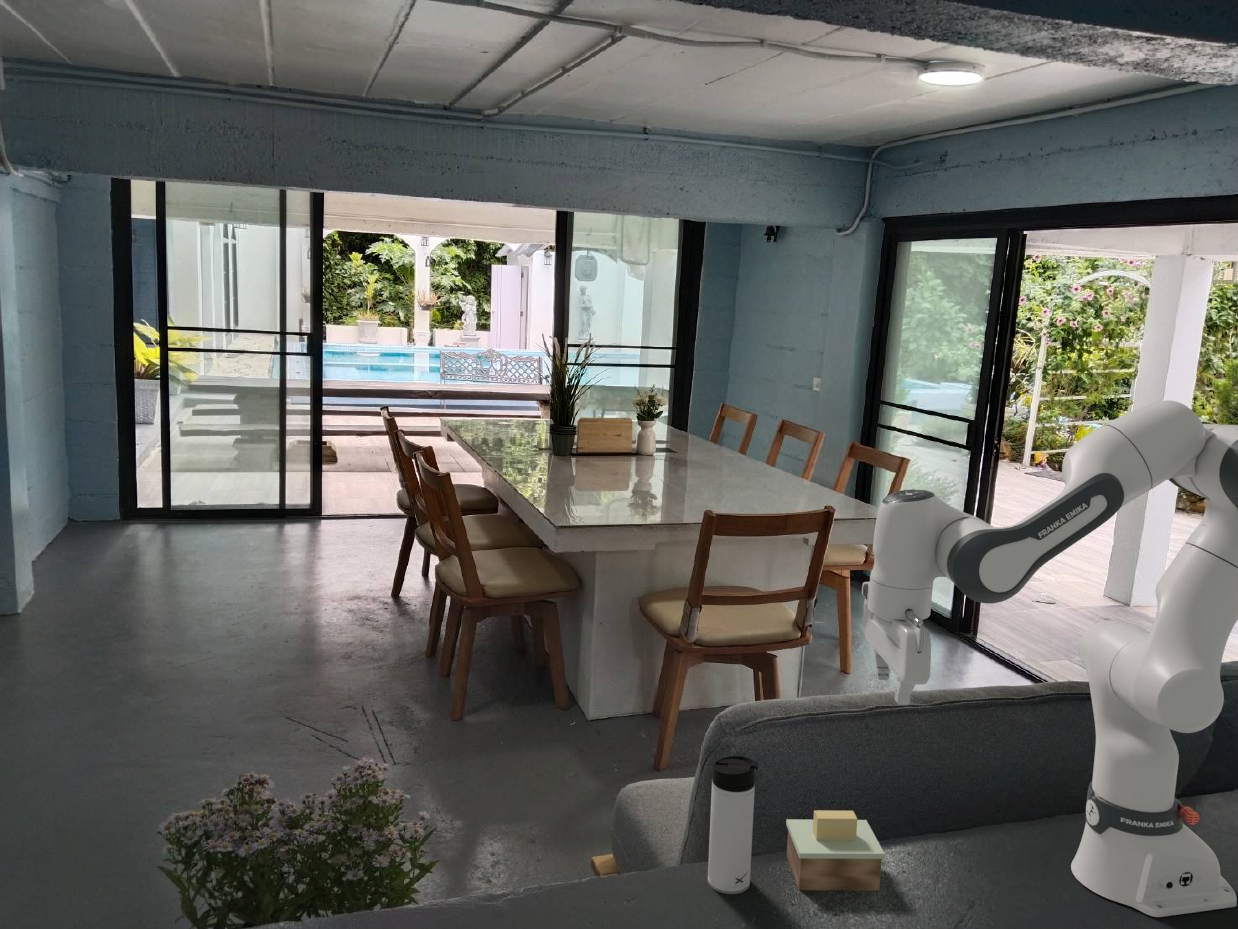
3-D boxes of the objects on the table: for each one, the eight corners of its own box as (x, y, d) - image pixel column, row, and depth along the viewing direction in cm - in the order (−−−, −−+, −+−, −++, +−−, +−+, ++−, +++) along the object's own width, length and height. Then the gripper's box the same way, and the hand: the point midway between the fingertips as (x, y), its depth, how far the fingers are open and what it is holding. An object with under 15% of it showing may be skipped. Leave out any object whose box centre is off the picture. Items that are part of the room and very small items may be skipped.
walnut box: (861, 861, 153) (864, 825, 152) (879, 895, 144) (881, 857, 143) (786, 860, 153) (788, 825, 152) (798, 894, 144) (801, 857, 143)
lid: (865, 829, 153) (867, 799, 152) (884, 863, 143) (886, 831, 143) (785, 828, 152) (787, 798, 152) (799, 863, 143) (801, 831, 142)
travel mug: (750, 902, 142) (756, 773, 139) (705, 895, 143) (710, 768, 140) (753, 878, 148) (759, 754, 145) (709, 872, 149) (715, 749, 146)
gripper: (946, 623, 132) (937, 720, 134) (899, 581, 152) (891, 666, 154) (900, 622, 132) (892, 719, 134) (859, 580, 152) (852, 665, 154)
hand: (891, 690), depth 144 cm, fingers open, 8 cm apart
